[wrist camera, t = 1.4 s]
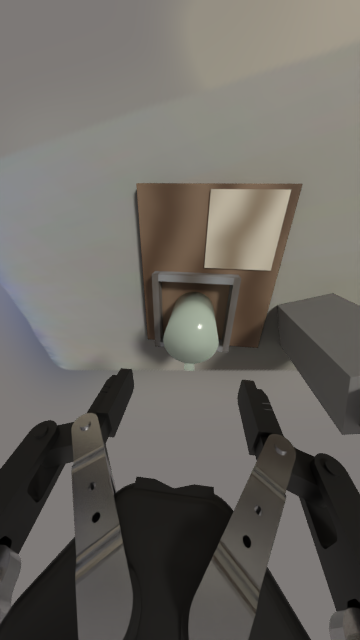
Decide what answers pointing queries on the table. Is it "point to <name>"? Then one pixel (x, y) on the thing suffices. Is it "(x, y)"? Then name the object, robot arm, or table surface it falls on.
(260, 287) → the wooden panel with label
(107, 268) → the table surface
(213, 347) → the pale green rounded piece
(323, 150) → the table surface
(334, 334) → the perfume bottle
